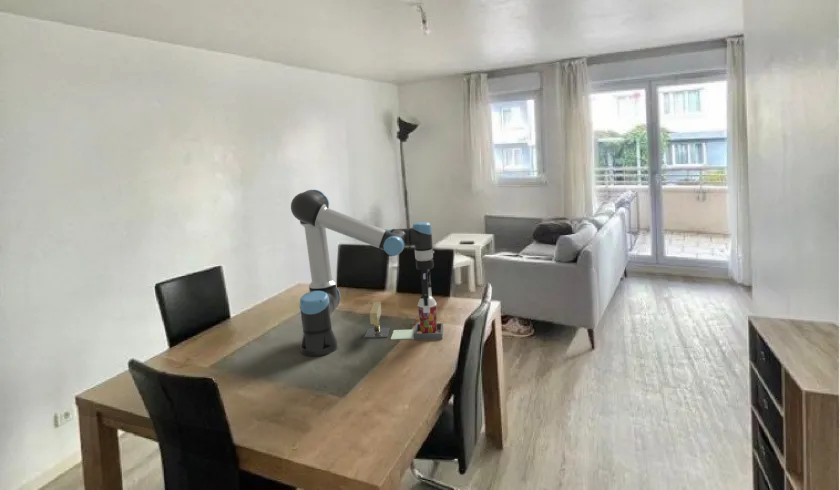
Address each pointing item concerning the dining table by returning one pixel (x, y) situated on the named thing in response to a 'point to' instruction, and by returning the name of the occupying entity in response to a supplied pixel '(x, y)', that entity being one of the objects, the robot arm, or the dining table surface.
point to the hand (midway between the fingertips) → (427, 307)
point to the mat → (402, 334)
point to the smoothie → (428, 316)
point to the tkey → (375, 315)
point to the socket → (428, 335)
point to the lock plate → (377, 333)
